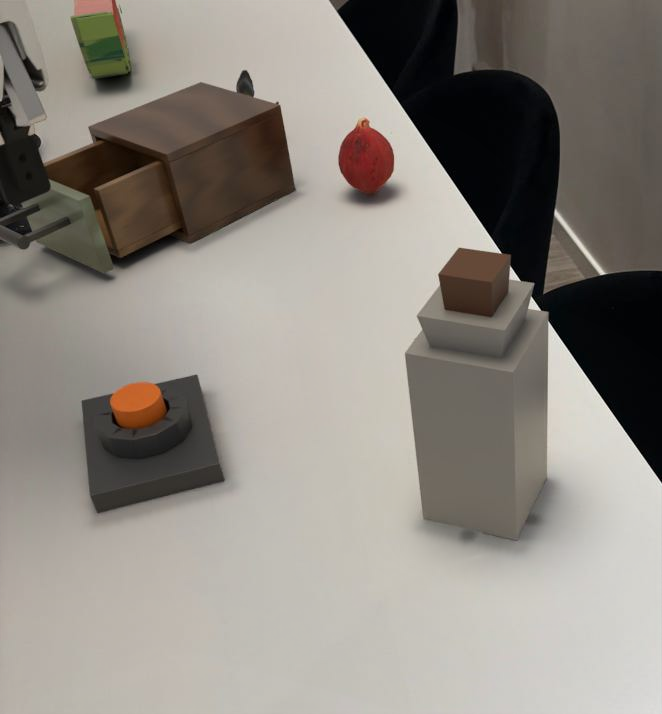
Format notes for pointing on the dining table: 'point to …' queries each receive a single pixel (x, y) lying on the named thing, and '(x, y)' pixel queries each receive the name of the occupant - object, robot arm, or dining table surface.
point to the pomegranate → (366, 158)
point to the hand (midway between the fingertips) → (25, 194)
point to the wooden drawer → (99, 205)
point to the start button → (138, 405)
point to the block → (150, 449)
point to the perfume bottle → (480, 397)
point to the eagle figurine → (246, 84)
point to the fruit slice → (101, 37)
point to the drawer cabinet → (209, 152)
